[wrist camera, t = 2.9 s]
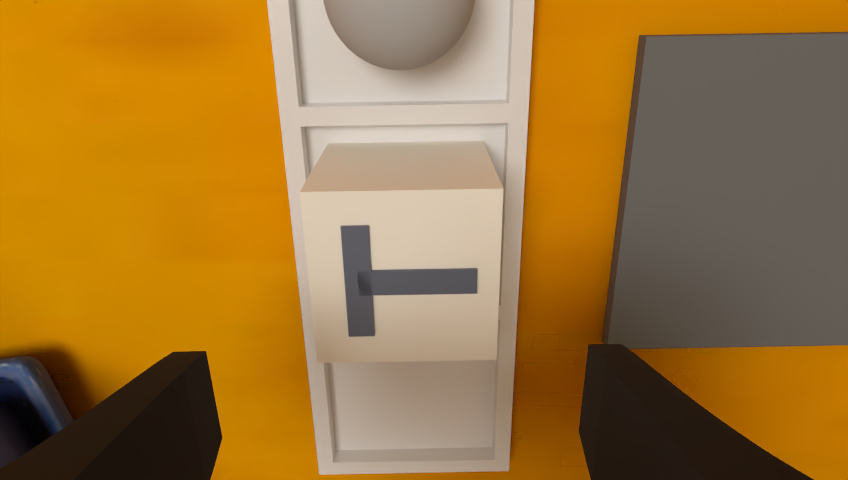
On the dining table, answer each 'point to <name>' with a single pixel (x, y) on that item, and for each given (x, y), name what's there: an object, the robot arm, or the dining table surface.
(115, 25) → the dining table surface
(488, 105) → the sorting tray
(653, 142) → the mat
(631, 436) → the robot arm
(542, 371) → the dining table surface
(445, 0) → the grey ball
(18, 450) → the flower pot
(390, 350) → the letter cube
